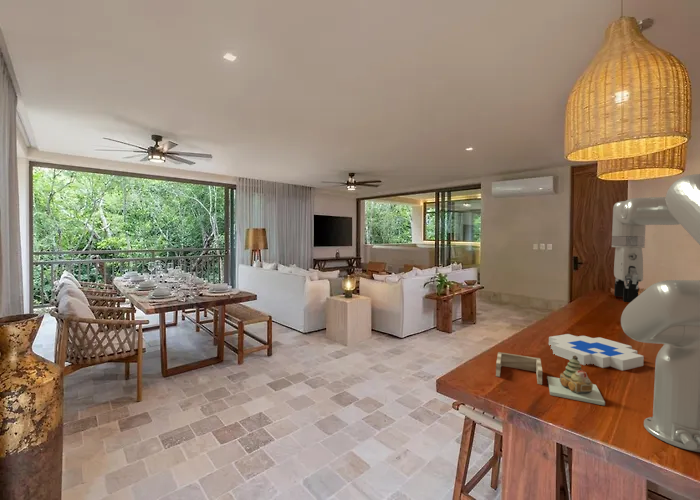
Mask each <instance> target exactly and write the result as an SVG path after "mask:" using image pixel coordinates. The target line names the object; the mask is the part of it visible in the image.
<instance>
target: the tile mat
mask: <svg viewBox="0 0 700 500" xmlns="http://www.w3.org/2000/svg"><path fill="white" fill-rule="evenodd" d="M546 379H547V384H548V386H547V387H548V390H549V395H550V396H554V397H558V398H559V397H560V398H564V399H569V400H574V401H580V402H584V403H590V404H594V405H600V406H606V401H605V400H604V397H603V396H602V394H601V392H600V390H599V388H598V386H597V384H594V383H592V384H593V387H592V392H590V393H576V392H573V391H571V390H570V389H569V388H568V387H564V386H562V384H561V382H560V377H555V376H549V375H547V376H546Z"/></svg>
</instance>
